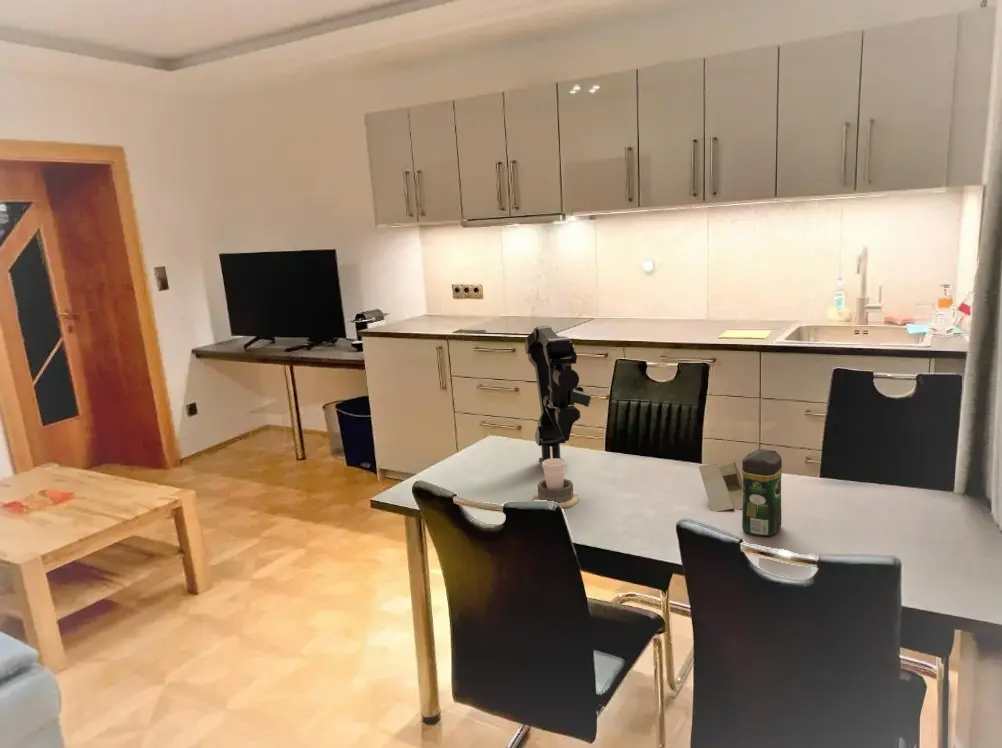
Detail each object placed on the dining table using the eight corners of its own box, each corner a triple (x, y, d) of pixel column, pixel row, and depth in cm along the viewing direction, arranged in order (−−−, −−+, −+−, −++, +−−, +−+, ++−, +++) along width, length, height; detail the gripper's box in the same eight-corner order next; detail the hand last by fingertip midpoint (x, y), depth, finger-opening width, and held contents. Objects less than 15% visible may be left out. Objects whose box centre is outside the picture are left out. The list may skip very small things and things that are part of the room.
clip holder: (529, 494, 194) (528, 479, 193) (571, 489, 196) (571, 473, 195) (538, 511, 183) (538, 495, 182) (584, 505, 184) (583, 489, 184)
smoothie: (546, 491, 193) (543, 442, 190) (569, 492, 191) (567, 442, 188) (541, 500, 187) (538, 450, 184) (565, 501, 185) (562, 450, 182)
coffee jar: (750, 518, 171) (751, 444, 167) (785, 524, 166) (786, 449, 162) (737, 533, 163) (737, 456, 159) (772, 540, 158) (773, 461, 155)
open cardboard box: (776, 515, 180) (758, 464, 189) (779, 500, 174) (761, 448, 183) (711, 526, 183) (696, 475, 192) (711, 512, 176) (696, 459, 185)
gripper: (597, 386, 190) (599, 442, 193) (578, 373, 208) (581, 424, 211) (557, 391, 188) (560, 447, 192) (541, 376, 206) (544, 428, 210)
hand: (562, 436), depth 201 cm, fingers open, 9 cm apart
